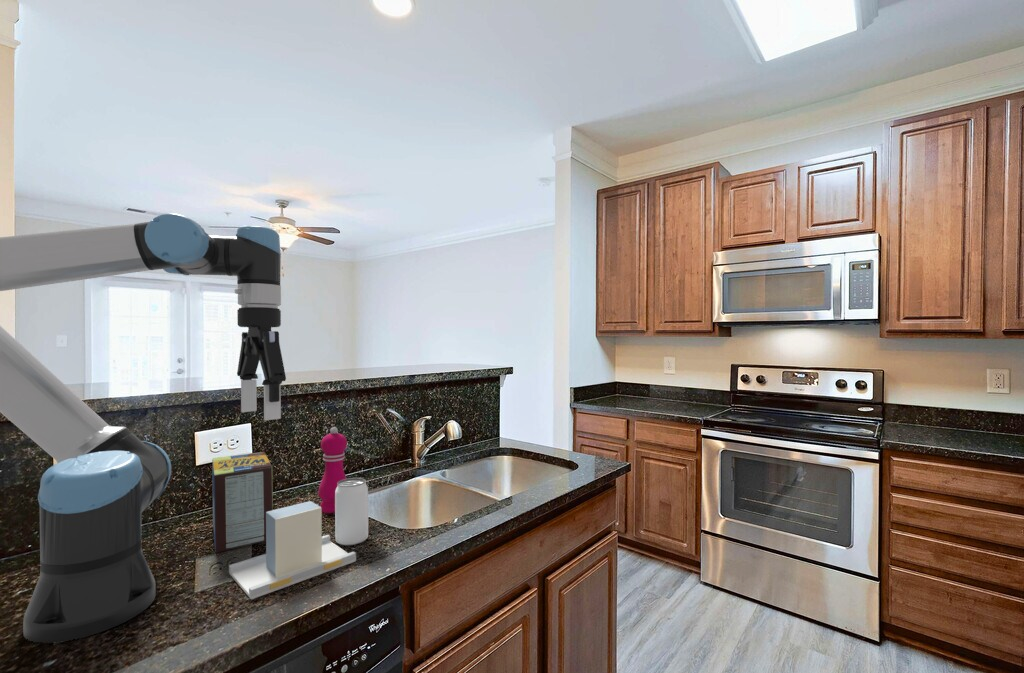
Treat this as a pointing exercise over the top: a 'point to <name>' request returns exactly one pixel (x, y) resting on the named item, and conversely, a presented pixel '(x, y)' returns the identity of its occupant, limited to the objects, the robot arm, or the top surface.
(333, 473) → the pepper mill
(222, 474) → the protein box
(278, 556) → the tea box
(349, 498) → the can
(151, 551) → the top surface
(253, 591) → the white tray
